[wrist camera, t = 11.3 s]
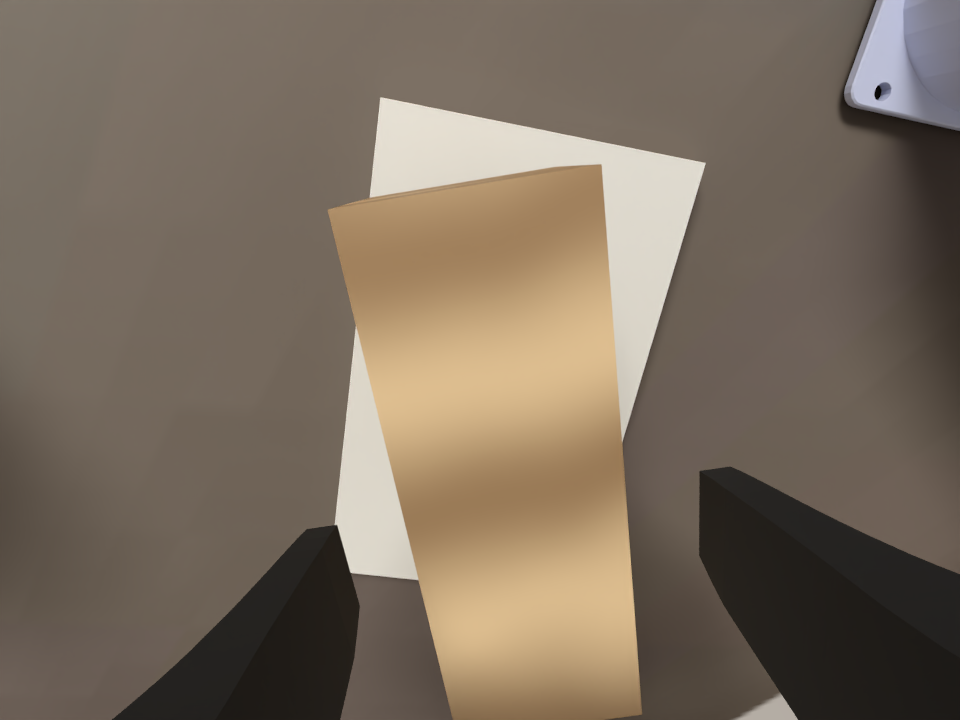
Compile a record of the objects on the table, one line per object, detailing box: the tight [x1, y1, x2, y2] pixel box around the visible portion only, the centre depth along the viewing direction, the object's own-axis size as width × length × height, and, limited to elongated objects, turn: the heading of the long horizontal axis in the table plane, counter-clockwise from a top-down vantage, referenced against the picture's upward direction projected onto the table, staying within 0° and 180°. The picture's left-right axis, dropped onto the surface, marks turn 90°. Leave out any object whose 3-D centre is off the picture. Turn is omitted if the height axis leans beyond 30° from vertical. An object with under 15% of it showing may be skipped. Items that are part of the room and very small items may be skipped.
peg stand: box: [335, 97, 705, 580], centre depth 18 cm, size 10×17×3 cm, turn 170°
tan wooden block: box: [328, 164, 642, 720], centre depth 14 cm, size 14×5×5 cm, turn 9°
